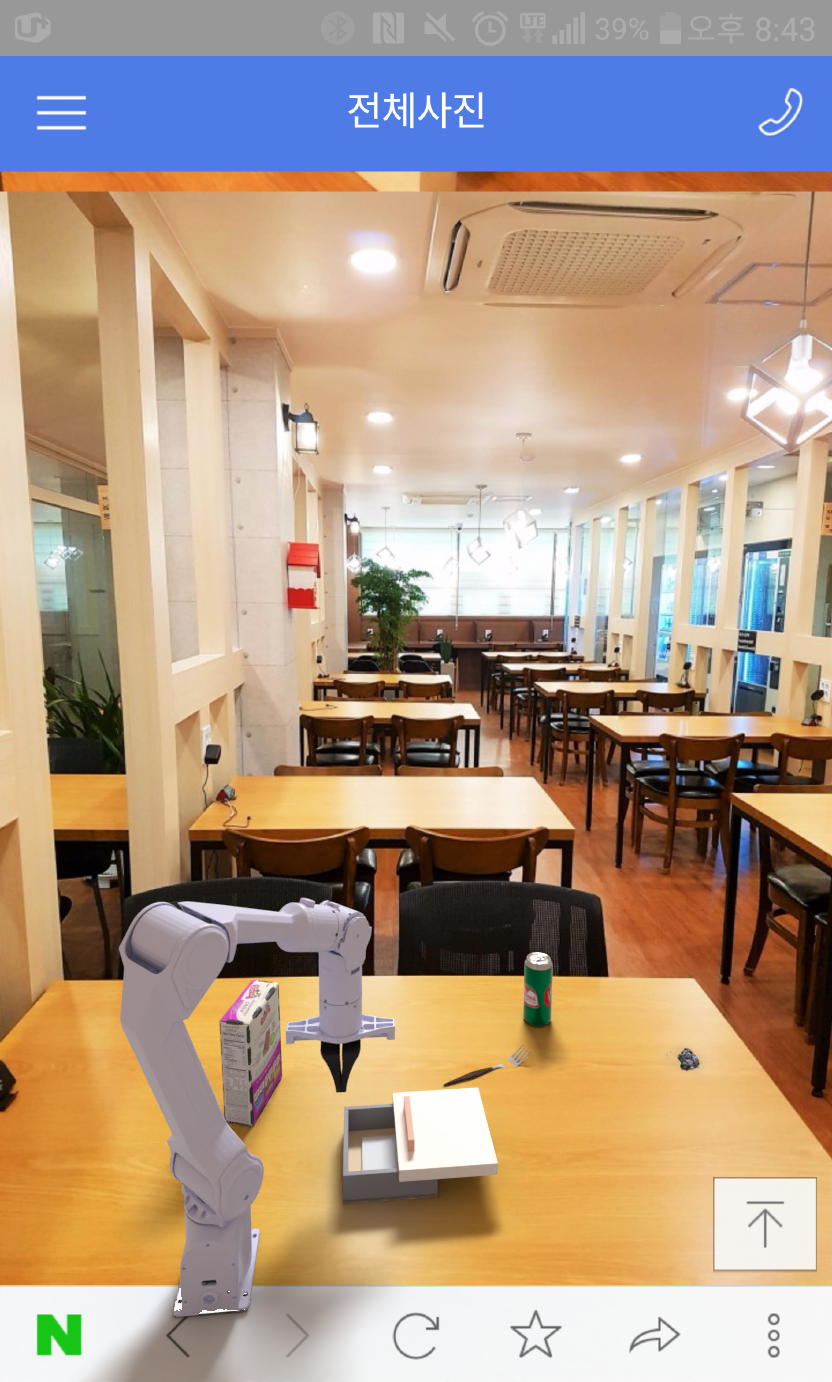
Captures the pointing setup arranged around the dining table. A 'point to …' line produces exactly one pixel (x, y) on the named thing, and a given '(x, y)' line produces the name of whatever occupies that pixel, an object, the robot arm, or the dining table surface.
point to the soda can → (538, 989)
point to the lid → (442, 1135)
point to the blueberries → (688, 1060)
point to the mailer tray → (375, 1158)
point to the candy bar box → (251, 1051)
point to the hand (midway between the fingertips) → (341, 1087)
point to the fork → (486, 1070)
